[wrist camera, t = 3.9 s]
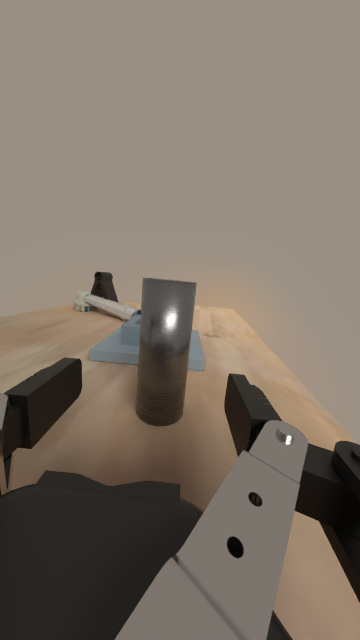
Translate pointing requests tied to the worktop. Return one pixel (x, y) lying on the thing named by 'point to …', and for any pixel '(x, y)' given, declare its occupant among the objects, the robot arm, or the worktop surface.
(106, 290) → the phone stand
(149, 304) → the steel axle
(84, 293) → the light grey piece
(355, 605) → the worktop surface
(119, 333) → the block
